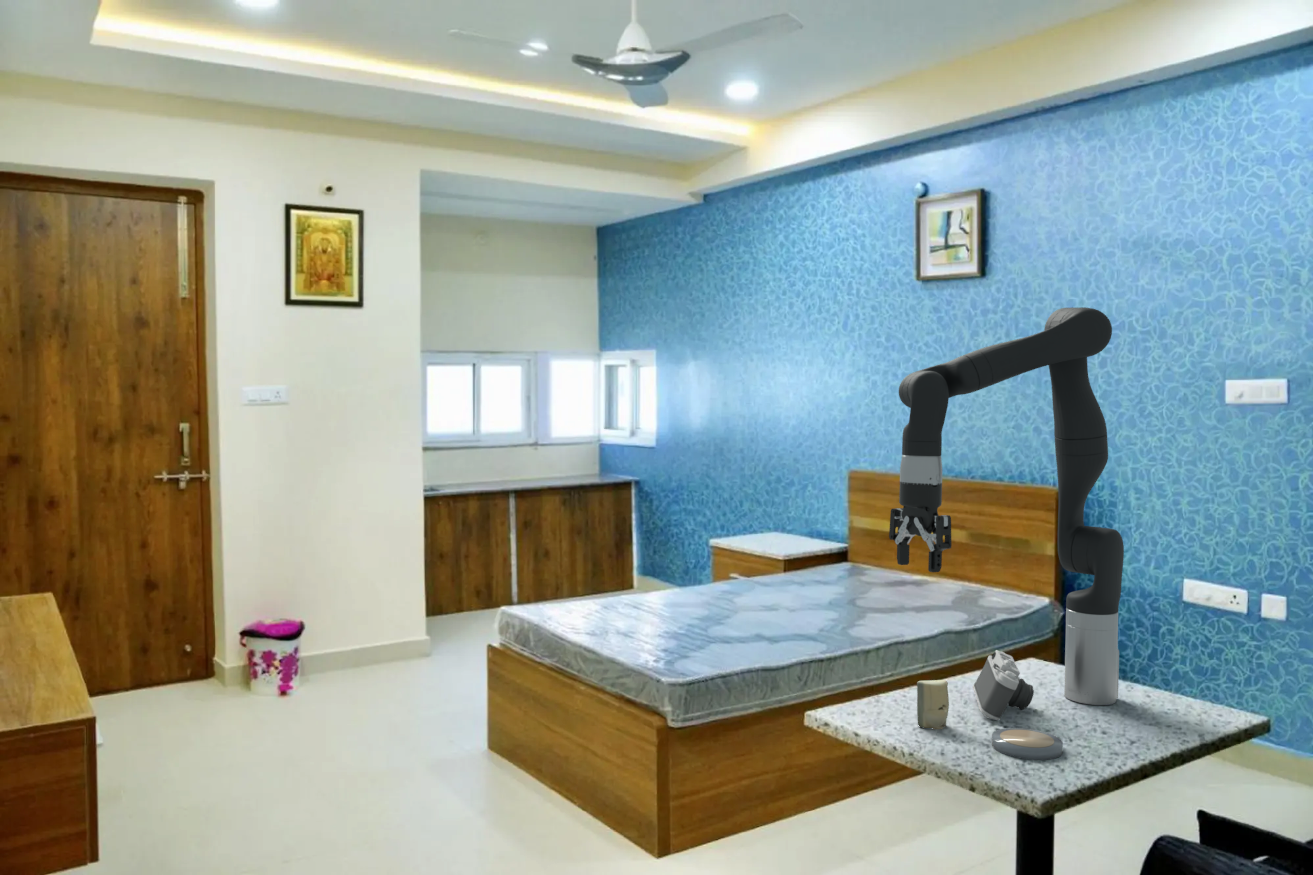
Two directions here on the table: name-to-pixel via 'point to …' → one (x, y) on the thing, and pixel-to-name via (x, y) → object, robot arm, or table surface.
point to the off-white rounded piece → (932, 703)
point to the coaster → (1027, 743)
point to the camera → (1001, 686)
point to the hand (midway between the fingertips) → (918, 568)
